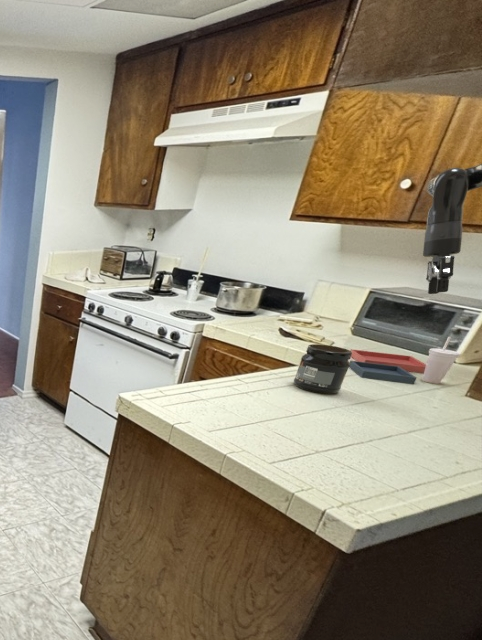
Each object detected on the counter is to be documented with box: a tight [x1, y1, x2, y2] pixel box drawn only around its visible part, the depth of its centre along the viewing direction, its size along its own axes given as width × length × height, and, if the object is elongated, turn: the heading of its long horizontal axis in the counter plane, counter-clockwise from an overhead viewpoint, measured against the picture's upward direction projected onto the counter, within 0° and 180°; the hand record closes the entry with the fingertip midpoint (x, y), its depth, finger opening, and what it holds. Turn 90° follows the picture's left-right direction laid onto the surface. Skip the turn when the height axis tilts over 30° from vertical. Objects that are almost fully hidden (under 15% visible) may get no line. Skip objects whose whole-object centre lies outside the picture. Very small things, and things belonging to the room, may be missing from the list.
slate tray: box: [349, 360, 417, 385], centre depth 148 cm, size 12×12×2 cm
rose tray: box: [350, 349, 427, 374], centre depth 159 cm, size 16×14×2 cm
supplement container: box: [293, 343, 352, 395], centre depth 134 cm, size 10×10×12 cm
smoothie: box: [421, 336, 461, 385], centre depth 141 cm, size 6×6×14 cm
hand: (437, 293), depth 144 cm, fingers open, 8 cm apart
